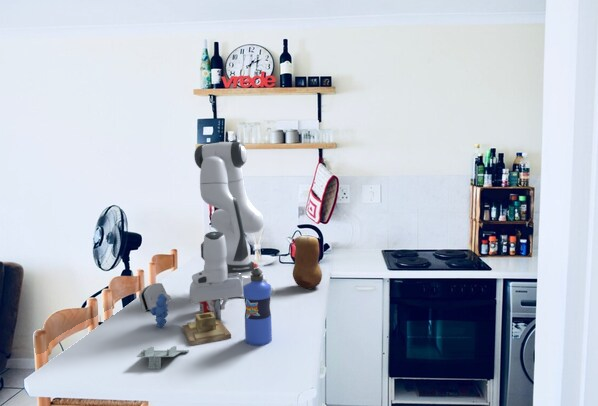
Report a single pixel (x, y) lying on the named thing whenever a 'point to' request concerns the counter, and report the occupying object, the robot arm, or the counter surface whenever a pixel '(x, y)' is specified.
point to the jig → (205, 329)
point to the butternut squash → (307, 262)
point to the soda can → (205, 307)
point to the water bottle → (257, 310)
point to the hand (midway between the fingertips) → (217, 310)
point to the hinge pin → (217, 309)
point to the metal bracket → (159, 355)
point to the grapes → (160, 311)
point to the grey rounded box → (152, 295)
